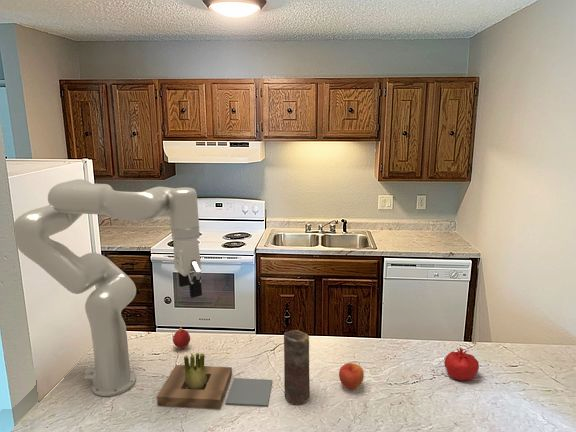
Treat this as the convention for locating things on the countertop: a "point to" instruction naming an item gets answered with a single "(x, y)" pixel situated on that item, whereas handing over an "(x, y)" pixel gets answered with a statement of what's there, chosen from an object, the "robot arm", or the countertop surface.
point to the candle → (296, 367)
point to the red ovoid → (181, 338)
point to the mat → (249, 392)
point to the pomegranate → (461, 365)
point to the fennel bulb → (195, 372)
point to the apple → (351, 375)
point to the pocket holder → (191, 398)
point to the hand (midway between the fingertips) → (190, 290)
